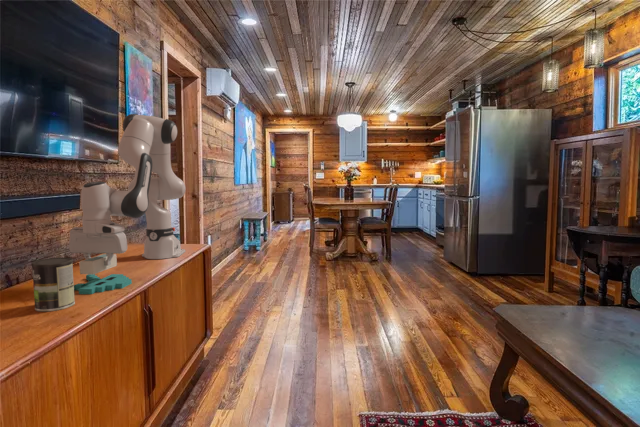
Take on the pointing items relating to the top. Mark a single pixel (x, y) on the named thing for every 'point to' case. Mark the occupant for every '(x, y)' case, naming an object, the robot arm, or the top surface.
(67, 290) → the coffee can
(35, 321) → the top surface
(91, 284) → the alien figure
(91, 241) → the robot arm
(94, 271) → the beige rectangular block
